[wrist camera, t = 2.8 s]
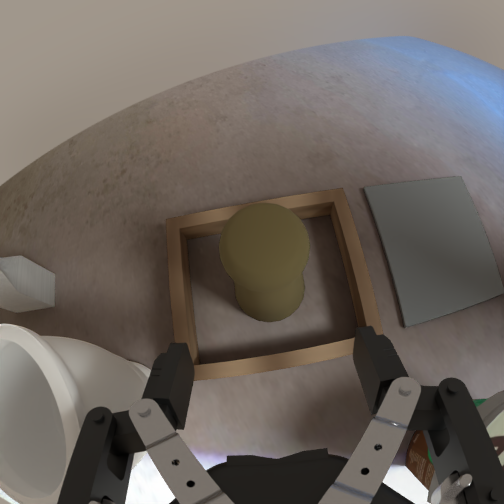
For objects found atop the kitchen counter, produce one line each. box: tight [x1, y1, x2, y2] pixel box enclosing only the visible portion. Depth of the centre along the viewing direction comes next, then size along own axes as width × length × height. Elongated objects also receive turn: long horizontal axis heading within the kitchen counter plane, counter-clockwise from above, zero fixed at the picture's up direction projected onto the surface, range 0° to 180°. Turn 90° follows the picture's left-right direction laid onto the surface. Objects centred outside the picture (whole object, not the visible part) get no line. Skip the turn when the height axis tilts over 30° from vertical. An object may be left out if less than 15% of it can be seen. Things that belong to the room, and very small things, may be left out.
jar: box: [0, 324, 151, 504], centre depth 16 cm, size 11×10×15 cm
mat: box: [363, 176, 504, 328], centre depth 26 cm, size 13×14×1 cm
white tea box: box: [0, 255, 55, 313], centre depth 24 cm, size 4×7×10 cm, turn 101°
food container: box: [406, 390, 504, 503], centre depth 16 cm, size 12×6×10 cm, turn 96°
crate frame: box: [166, 188, 383, 381], centre depth 25 cm, size 16×14×2 cm
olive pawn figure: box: [219, 203, 310, 322], centre depth 21 cm, size 6×6×11 cm
